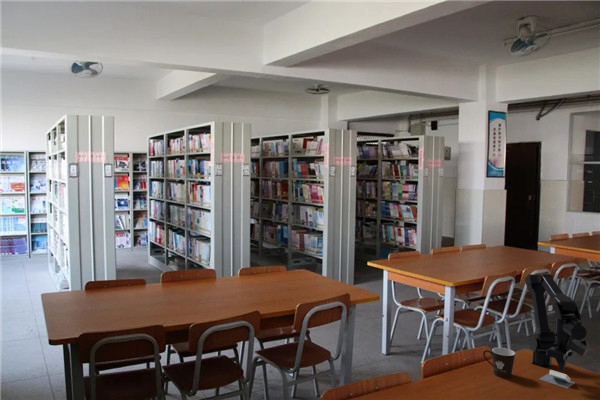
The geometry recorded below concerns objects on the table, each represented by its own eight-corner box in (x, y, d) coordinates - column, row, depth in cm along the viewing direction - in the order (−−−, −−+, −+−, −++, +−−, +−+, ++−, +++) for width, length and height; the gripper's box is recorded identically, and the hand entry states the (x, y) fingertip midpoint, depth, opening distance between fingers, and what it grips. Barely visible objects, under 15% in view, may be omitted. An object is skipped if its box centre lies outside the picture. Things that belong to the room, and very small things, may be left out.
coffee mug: (518, 378, 190) (519, 354, 189) (502, 381, 187) (503, 356, 186) (496, 367, 201) (497, 344, 200) (480, 370, 197) (481, 346, 197)
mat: (539, 380, 189) (539, 379, 189) (547, 374, 194) (547, 373, 194) (567, 389, 181) (567, 388, 181) (575, 383, 186) (575, 382, 186)
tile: (553, 378, 190) (548, 374, 187) (554, 373, 191) (550, 369, 187) (569, 383, 186) (565, 379, 182) (570, 378, 186) (566, 374, 183)
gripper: (578, 342, 175) (576, 383, 175) (594, 331, 187) (592, 370, 188) (546, 334, 183) (544, 373, 184) (564, 324, 195) (562, 362, 196)
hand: (562, 370), depth 188 cm, fingers closed
